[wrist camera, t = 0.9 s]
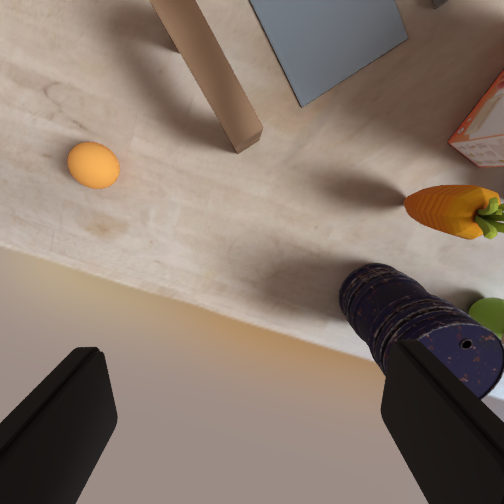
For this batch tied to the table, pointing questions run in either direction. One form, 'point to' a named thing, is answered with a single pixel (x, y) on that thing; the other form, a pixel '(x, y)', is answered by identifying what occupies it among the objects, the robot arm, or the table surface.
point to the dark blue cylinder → (420, 325)
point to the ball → (93, 165)
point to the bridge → (210, 70)
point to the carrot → (458, 210)
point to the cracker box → (484, 129)
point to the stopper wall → (438, 3)
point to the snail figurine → (490, 315)
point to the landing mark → (328, 38)
